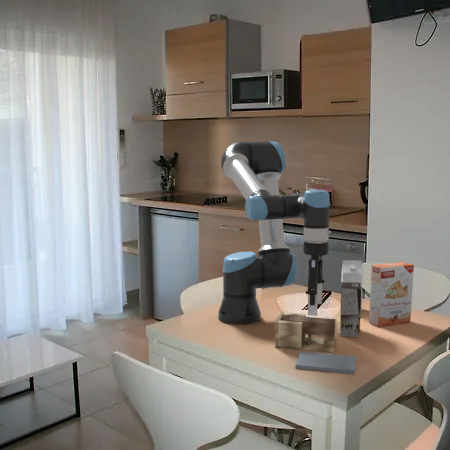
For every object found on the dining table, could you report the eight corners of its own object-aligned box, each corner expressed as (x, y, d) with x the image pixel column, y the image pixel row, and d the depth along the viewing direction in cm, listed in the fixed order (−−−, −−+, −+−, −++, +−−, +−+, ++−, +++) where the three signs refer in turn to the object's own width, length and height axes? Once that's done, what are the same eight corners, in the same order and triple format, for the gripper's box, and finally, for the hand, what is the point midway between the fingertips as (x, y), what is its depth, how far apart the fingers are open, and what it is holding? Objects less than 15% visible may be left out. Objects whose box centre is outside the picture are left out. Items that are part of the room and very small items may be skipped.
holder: (274, 347, 182) (275, 322, 180) (280, 336, 192) (280, 312, 191) (332, 352, 177) (333, 326, 176) (335, 340, 187) (335, 316, 186)
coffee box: (360, 337, 191) (361, 288, 188) (339, 336, 192) (341, 287, 189) (359, 328, 199) (361, 282, 197) (340, 327, 201) (341, 281, 198)
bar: (287, 332, 183) (288, 320, 182) (290, 327, 188) (290, 315, 187) (333, 336, 179) (334, 323, 179) (334, 331, 184) (335, 319, 183)
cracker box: (379, 328, 200) (381, 267, 197) (368, 323, 206) (370, 264, 203) (411, 323, 206) (414, 264, 203) (400, 318, 211) (402, 260, 208)
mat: (295, 368, 165) (295, 364, 165) (300, 354, 175) (300, 351, 175) (354, 374, 161) (354, 370, 161) (355, 359, 171) (355, 356, 171)
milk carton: (340, 307, 225) (342, 258, 222) (359, 308, 224) (361, 259, 221) (341, 312, 218) (343, 262, 215) (361, 313, 217) (363, 262, 214)
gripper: (324, 248, 166) (323, 321, 169) (332, 235, 190) (330, 299, 193) (298, 247, 168) (297, 319, 171) (308, 234, 192) (307, 298, 195)
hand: (315, 309), depth 182 cm, fingers open, 13 cm apart
